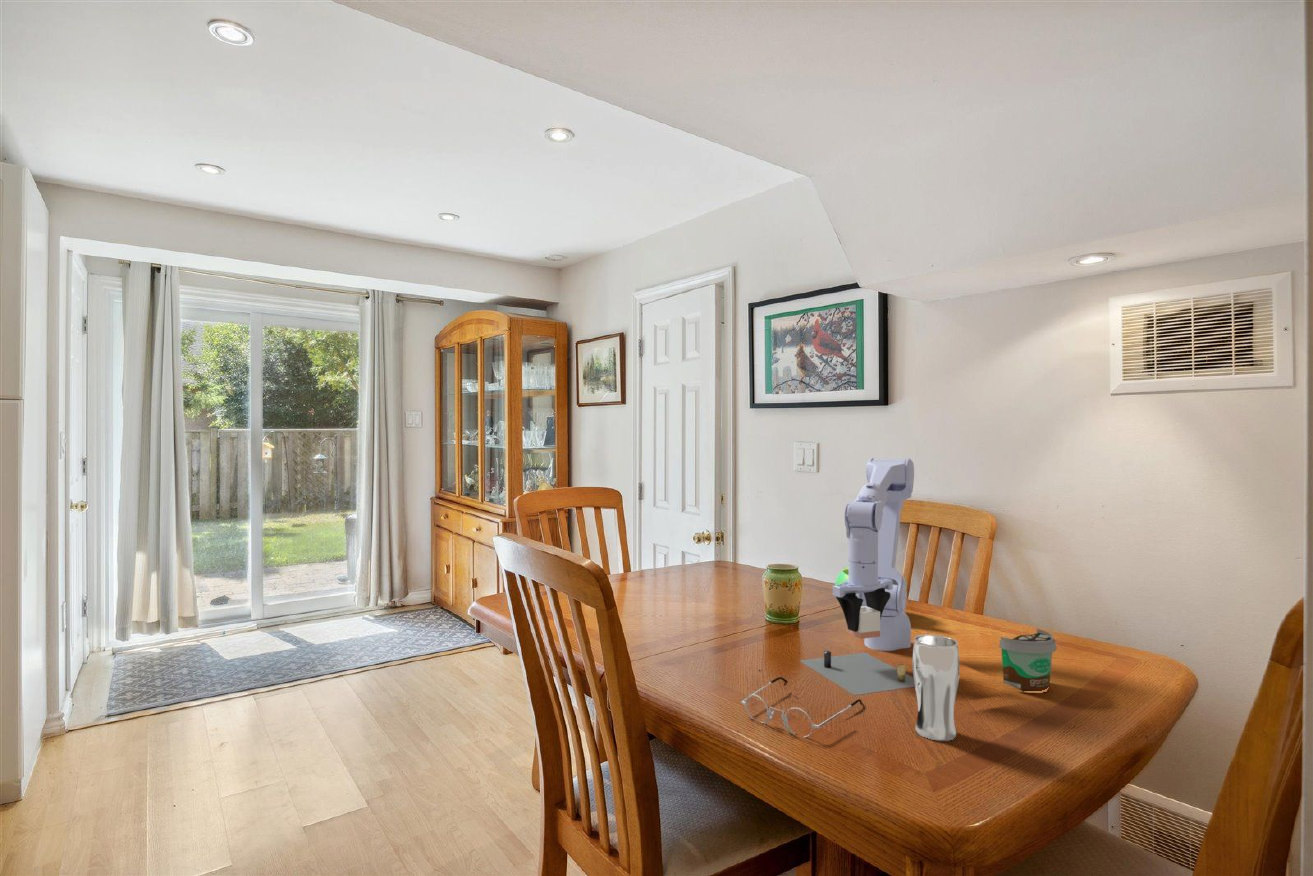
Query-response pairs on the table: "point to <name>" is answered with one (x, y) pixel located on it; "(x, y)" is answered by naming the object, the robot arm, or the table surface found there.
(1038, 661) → the food container
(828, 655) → the black pin
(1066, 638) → the table surface
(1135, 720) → the table surface
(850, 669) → the pin board
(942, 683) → the beer glass
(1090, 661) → the table surface
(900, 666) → the brass pin
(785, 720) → the eyeglasses
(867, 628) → the sleeve
